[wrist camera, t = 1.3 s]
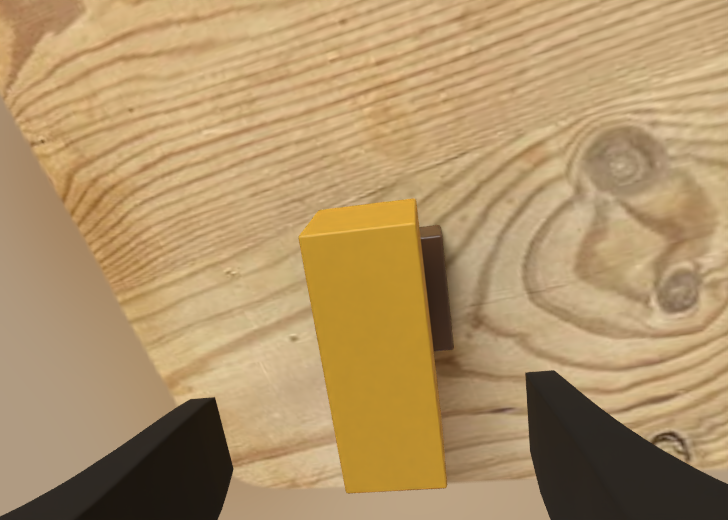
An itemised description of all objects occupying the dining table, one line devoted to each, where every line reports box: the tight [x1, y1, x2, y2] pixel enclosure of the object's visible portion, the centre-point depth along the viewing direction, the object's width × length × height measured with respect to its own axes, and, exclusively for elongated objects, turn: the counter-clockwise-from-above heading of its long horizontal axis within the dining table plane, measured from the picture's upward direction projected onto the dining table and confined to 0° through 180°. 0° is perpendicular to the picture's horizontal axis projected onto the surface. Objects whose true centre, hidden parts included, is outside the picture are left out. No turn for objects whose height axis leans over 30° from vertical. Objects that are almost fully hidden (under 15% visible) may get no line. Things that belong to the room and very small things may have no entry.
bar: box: [299, 199, 447, 493], centre depth 16 cm, size 8×3×3 cm, turn 8°
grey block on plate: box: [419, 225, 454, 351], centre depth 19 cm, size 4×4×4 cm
